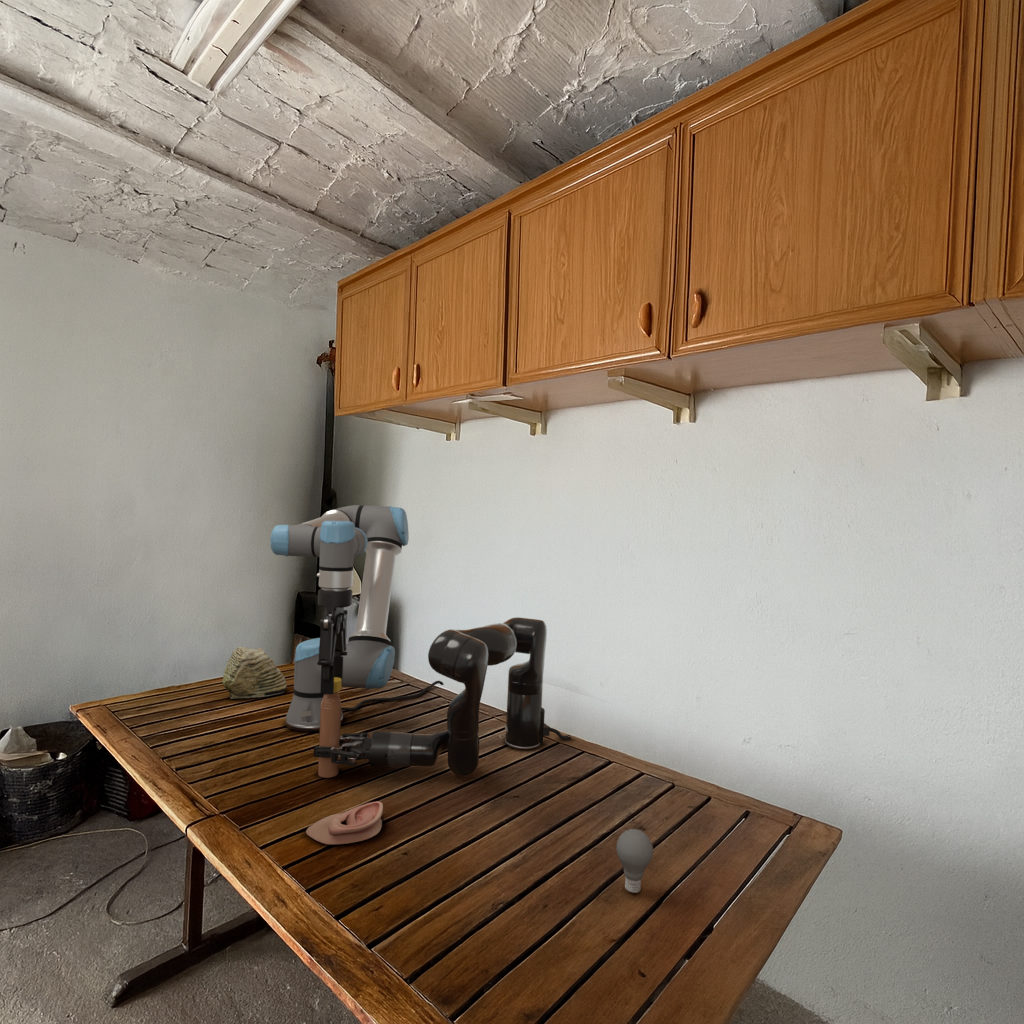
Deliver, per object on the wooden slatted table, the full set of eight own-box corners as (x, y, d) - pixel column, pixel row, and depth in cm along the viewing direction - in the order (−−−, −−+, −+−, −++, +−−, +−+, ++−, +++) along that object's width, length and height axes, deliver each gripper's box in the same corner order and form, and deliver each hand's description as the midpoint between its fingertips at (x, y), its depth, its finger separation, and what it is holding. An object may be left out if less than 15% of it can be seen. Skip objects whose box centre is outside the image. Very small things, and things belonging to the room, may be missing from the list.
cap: (330, 693, 142) (331, 683, 142) (317, 690, 144) (318, 679, 144) (345, 689, 145) (345, 679, 145) (332, 686, 148) (332, 675, 148)
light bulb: (610, 879, 108) (613, 822, 108) (644, 879, 109) (647, 822, 109) (619, 902, 102) (622, 840, 102) (655, 901, 103) (658, 840, 103)
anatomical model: (298, 818, 116) (328, 791, 128) (297, 839, 116) (327, 810, 128) (365, 829, 114) (390, 800, 125) (364, 851, 114) (389, 820, 125)
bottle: (343, 772, 146) (346, 682, 145) (327, 779, 142) (330, 686, 142) (329, 767, 148) (333, 678, 148) (313, 774, 144) (317, 682, 144)
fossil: (218, 695, 195) (220, 647, 195) (278, 685, 208) (279, 640, 207) (228, 703, 189) (230, 653, 188) (289, 692, 201) (290, 645, 201)
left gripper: (331, 582, 154) (327, 676, 154) (304, 594, 135) (300, 701, 135) (362, 583, 154) (358, 677, 154) (340, 595, 135) (335, 703, 135)
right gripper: (397, 722, 153) (325, 719, 152) (387, 745, 138) (308, 742, 138) (396, 753, 153) (324, 750, 152) (386, 779, 138) (307, 777, 138)
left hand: (331, 688), depth 145 cm, fingers open, 6 cm apart
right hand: (317, 747), depth 145 cm, fingers closed on bottle, 4 cm apart
